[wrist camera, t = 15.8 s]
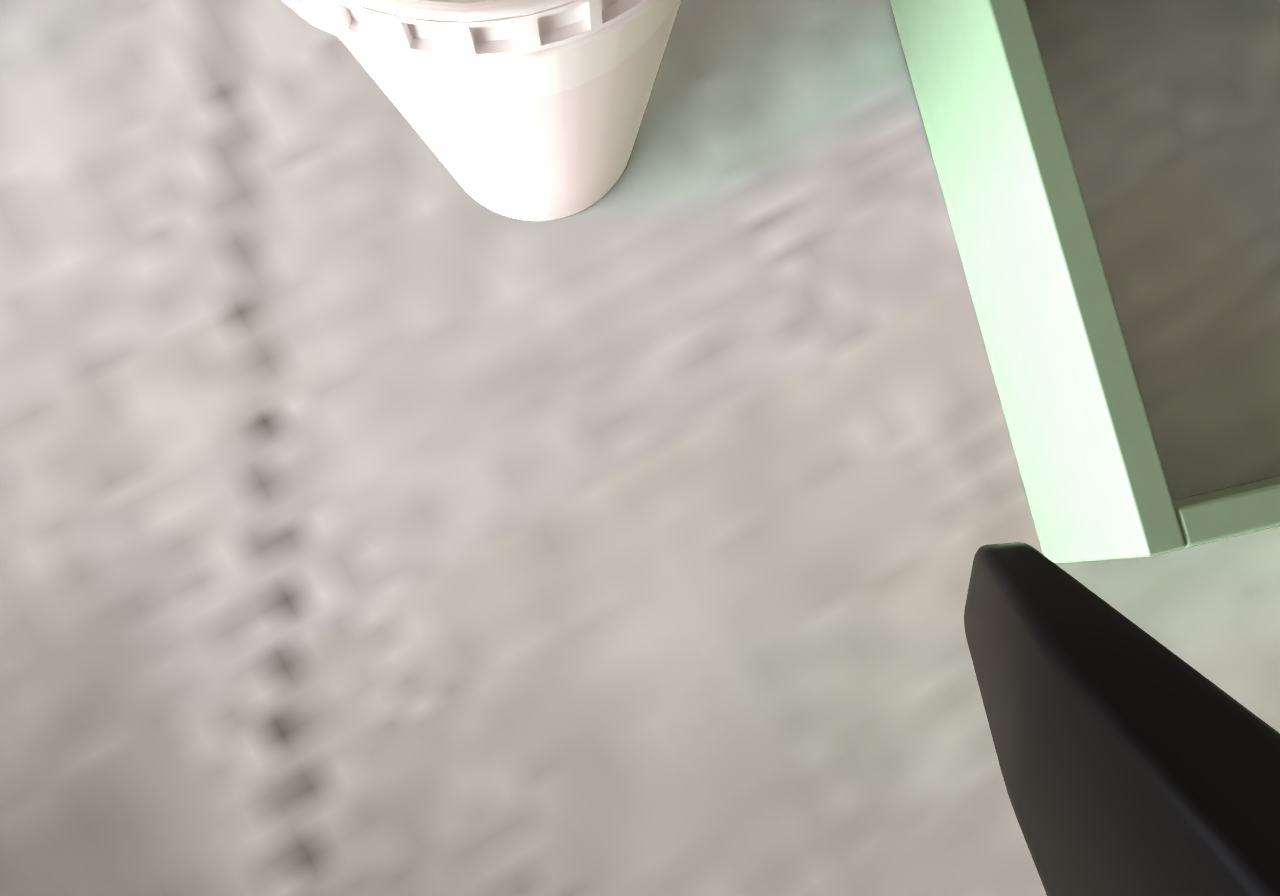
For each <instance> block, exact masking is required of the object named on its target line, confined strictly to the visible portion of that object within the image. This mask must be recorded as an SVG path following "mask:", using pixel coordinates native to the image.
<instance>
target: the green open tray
mask: <svg viewBox="0 0 1280 896" xmlns="http://www.w3.org/2000/svg"><path fill="white" fill-rule="evenodd" d="M890 4H891V8H892V11H893V15H894V18H895V22H896V26H897V29H898V33H899V36H900V40H901V44H902V47H903V51H904V54H905V58H906V62H907V65H908V69H909V72H910V76H911V80H912V83H913V87H914V90H915V94H916V98H917V101H918V105H919V109H920V112H921V116H922V119H923V123H924V127H925V130H926V134H927V137H928V141H929V145H930V148H931V152H932V155H933V159H934V163H935V166H936V170H937V173H938V177H939V181H940V184H941V188H942V191H943V195H944V199H945V202H946V206H947V209H948V213H949V217H950V220H951V224H952V228H953V231H954V235H955V238H956V242H957V246H958V249H959V253H960V256H961V260H962V264H963V267H964V271H965V274H966V278H967V282H968V285H969V289H970V292H971V296H972V300H973V303H974V307H975V310H976V314H977V318H978V321H979V325H980V328H981V332H982V336H983V339H984V343H985V347H986V350H987V354H988V357H989V361H990V365H991V368H992V372H993V375H994V379H995V383H996V386H997V390H998V393H999V397H1000V401H1001V404H1002V408H1003V411H1004V415H1005V419H1006V422H1007V426H1008V429H1009V433H1010V437H1011V440H1012V444H1013V448H1014V451H1015V455H1016V458H1017V462H1018V466H1019V469H1020V473H1021V476H1022V480H1023V484H1024V487H1025V491H1026V494H1027V498H1028V502H1029V505H1030V509H1031V512H1032V516H1033V520H1034V523H1035V527H1036V530H1037V534H1038V538H1039V541H1040V545H1041V548H1042V552H1043V555H1044V556H1045V557H1047V558H1048V559H1049V560H1051V561H1052V562H1053V563H1055V564H1060V563H1073V562H1085V561H1098V560H1111V559H1124V558H1137V557H1150V556H1155V555H1159V554H1163V553H1168V552H1172V551H1176V550H1180V549H1183V548H1185V547H1193V546H1197V545H1201V544H1205V543H1210V542H1214V541H1218V540H1222V539H1227V538H1231V537H1235V536H1239V535H1244V534H1248V533H1252V532H1256V531H1261V530H1265V529H1269V528H1273V527H1278V526H1280V476H1278V477H1273V478H1269V479H1265V480H1260V481H1256V482H1252V483H1248V484H1243V485H1239V486H1235V487H1230V488H1226V489H1222V490H1218V491H1213V492H1209V493H1205V494H1200V495H1196V496H1192V497H1188V498H1183V499H1179V500H1175V501H1172V498H1171V494H1170V491H1169V488H1168V484H1167V481H1166V477H1165V474H1164V471H1163V467H1162V464H1161V460H1160V457H1159V454H1158V450H1157V447H1156V443H1155V440H1154V437H1153V433H1152V430H1151V426H1150V423H1149V420H1148V416H1147V413H1146V409H1145V406H1144V403H1143V399H1142V396H1141V392H1140V389H1139V386H1138V382H1137V379H1136V375H1135V372H1134V369H1133V365H1132V362H1131V358H1130V355H1129V352H1128V348H1127V345H1126V342H1125V338H1124V335H1123V331H1122V328H1121V325H1120V321H1119V318H1118V314H1117V311H1116V308H1115V304H1114V301H1113V297H1112V294H1111V291H1110V287H1109V284H1108V280H1107V277H1106V274H1105V270H1104V267H1103V263H1102V260H1101V257H1100V253H1099V250H1098V246H1097V243H1096V240H1095V236H1094V233H1093V229H1092V226H1091V223H1090V219H1089V216H1088V212H1087V209H1086V206H1085V202H1084V199H1083V196H1082V192H1081V189H1080V185H1079V182H1078V179H1077V175H1076V172H1075V168H1074V165H1073V162H1072V158H1071V155H1070V151H1069V148H1068V145H1067V141H1066V138H1065V134H1064V131H1063V128H1062V124H1061V121H1060V117H1059V114H1058V111H1057V107H1056V104H1055V100H1054V97H1053V94H1052V90H1051V87H1050V83H1049V80H1048V77H1047V73H1046V70H1045V66H1044V63H1043V60H1042V56H1041V53H1040V50H1039V46H1038V43H1037V39H1036V36H1035V33H1034V29H1033V26H1032V22H1031V19H1030V16H1029V12H1028V9H1027V5H1026V2H1025V0H890Z"/></svg>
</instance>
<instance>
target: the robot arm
mask: <svg viewBox="0 0 1280 896" xmlns="http://www.w3.org/2000/svg"><path fill="white" fill-rule="evenodd" d="M964 624H965V632H966V638H967V642H968V646H969V649H970V653H971V657H972V661H973V665H974V669H975V672H976V676H977V680H978V684H979V688H980V691H981V695H982V699H983V703H984V707H985V710H986V714H987V718H988V722H989V726H990V729H991V733H992V737H993V741H994V745H995V749H996V752H997V756H998V760H999V764H1000V767H1001V771H1002V774H1003V778H1004V781H1005V785H1006V788H1007V792H1008V795H1009V797H1010V800H1011V803H1012V806H1013V809H1014V811H1015V814H1016V817H1017V820H1018V822H1019V825H1020V827H1021V830H1022V832H1023V835H1024V837H1025V840H1026V842H1027V845H1028V848H1029V850H1030V853H1031V855H1032V858H1033V860H1034V863H1035V865H1036V868H1037V871H1038V873H1039V876H1040V878H1041V881H1042V883H1043V886H1044V888H1045V891H1046V893H1047V896H1280V734H1279V733H1278V732H1277V731H1276V730H1274V729H1273V728H1272V727H1270V726H1269V725H1268V724H1266V723H1265V722H1264V721H1262V720H1261V719H1260V718H1258V717H1257V716H1256V715H1254V714H1253V713H1252V712H1250V711H1249V710H1248V709H1246V708H1245V707H1244V706H1242V705H1241V704H1240V703H1238V702H1237V701H1236V700H1234V699H1233V698H1232V697H1231V696H1229V695H1228V694H1227V693H1225V692H1224V691H1223V690H1221V689H1220V688H1219V687H1217V686H1216V685H1215V684H1213V683H1212V682H1211V681H1209V680H1208V679H1207V678H1205V677H1204V676H1203V675H1201V674H1200V673H1199V672H1197V671H1196V670H1195V669H1193V668H1192V667H1191V666H1190V665H1188V664H1187V663H1186V662H1184V661H1183V660H1182V659H1180V658H1179V657H1178V656H1176V655H1175V654H1174V653H1172V652H1171V651H1170V650H1168V649H1167V648H1166V647H1164V646H1163V645H1162V644H1160V643H1159V642H1158V641H1156V640H1155V639H1154V638H1152V637H1151V636H1150V635H1149V634H1147V633H1146V632H1145V631H1143V630H1142V629H1141V628H1139V627H1138V626H1137V625H1135V624H1134V623H1133V622H1131V621H1130V620H1129V619H1127V618H1126V617H1125V616H1123V615H1122V614H1121V613H1119V612H1118V611H1117V610H1115V609H1114V608H1113V607H1111V606H1110V605H1109V604H1107V603H1106V602H1105V601H1104V600H1102V599H1101V598H1100V597H1098V596H1097V595H1096V594H1094V593H1093V592H1092V591H1090V590H1089V589H1088V588H1086V587H1085V586H1084V585H1082V584H1081V583H1080V582H1078V581H1077V580H1076V579H1074V578H1073V577H1072V576H1070V575H1069V574H1068V573H1066V572H1065V571H1064V570H1063V569H1061V568H1060V567H1059V566H1057V565H1056V564H1055V563H1053V562H1052V561H1051V560H1049V559H1048V558H1047V557H1045V556H1044V555H1043V554H1041V553H1040V552H1039V551H1037V550H1036V549H1035V548H1033V547H1032V546H1030V545H1028V544H1026V543H1021V542H1015V543H1003V544H991V545H985V546H982V547H980V548H979V549H978V551H977V552H976V554H975V557H974V561H973V566H972V572H971V578H970V583H969V589H968V594H967V600H966V605H965V612H964Z"/></svg>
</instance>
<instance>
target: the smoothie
mask: <svg viewBox="0 0 1280 896" xmlns="http://www.w3.org/2000/svg"><path fill="white" fill-rule="evenodd" d="M282 1H283V2H284V3H285V4H286V5H288V6H289V7H290V8H291V9H293V10H294V11H295V12H296V13H298V14H299V15H300V16H301V17H303V18H304V19H305V20H306V21H308V22H309V23H310V24H311V25H313V26H315V27H318V28H320V29H322V30H325V31H327V32H329V33H331V34H334V35H336V36H337V37H338V38H339V39H340V40H341V41H342V42H343V43H344V44H345V45H346V46H347V48H348V49H349V50H350V51H351V53H352V54H353V55H354V56H355V57H356V59H357V60H358V61H359V62H360V63H361V65H362V66H363V67H364V68H365V70H366V71H367V72H368V73H369V74H370V76H371V77H372V78H373V79H374V81H375V82H376V83H377V84H378V85H379V87H380V88H381V89H382V90H383V91H384V93H385V94H386V95H387V96H388V98H389V99H390V100H391V101H392V102H393V104H394V105H395V106H396V107H397V109H398V110H399V111H400V112H401V113H402V115H403V116H404V117H405V118H406V119H407V121H408V122H409V123H410V124H411V126H412V127H413V128H414V129H415V130H416V132H417V133H418V134H419V135H420V137H421V138H422V139H423V140H424V141H425V143H426V144H427V145H428V146H429V147H430V149H431V150H432V151H433V152H434V154H435V155H436V156H437V157H438V158H439V160H440V161H441V162H442V163H443V165H444V166H445V167H446V168H447V169H448V171H449V172H450V173H451V174H452V175H453V177H454V178H455V179H456V180H457V182H458V183H459V184H460V185H461V186H462V188H463V189H464V190H465V191H466V192H467V193H468V194H469V195H470V196H471V197H472V198H474V199H475V200H476V201H477V202H479V203H480V204H482V205H483V206H485V207H486V208H488V209H490V210H492V211H494V212H496V213H498V214H501V215H504V216H507V217H510V218H514V219H519V220H525V221H550V220H556V219H561V218H564V217H568V216H571V215H573V214H576V213H578V212H580V211H582V210H585V209H586V208H588V207H590V206H591V205H593V204H594V203H596V202H597V201H598V200H600V199H601V198H602V197H603V196H604V195H605V194H607V193H608V192H609V191H610V189H611V188H612V187H613V186H614V185H615V184H616V182H617V181H618V179H619V178H620V177H621V175H622V173H623V171H624V170H625V168H626V165H627V163H628V161H629V158H630V155H631V152H632V149H633V146H634V143H635V140H636V137H637V134H638V131H639V128H640V125H641V122H642V119H643V115H644V112H645V109H646V106H647V103H648V100H649V97H650V94H651V91H652V88H653V85H654V82H655V79H656V76H657V73H658V70H659V66H660V63H661V60H662V57H663V54H664V51H665V48H666V45H667V42H668V39H669V36H670V33H671V30H672V27H673V24H674V21H675V17H676V14H677V11H678V8H679V5H680V2H681V0H282Z"/></svg>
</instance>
